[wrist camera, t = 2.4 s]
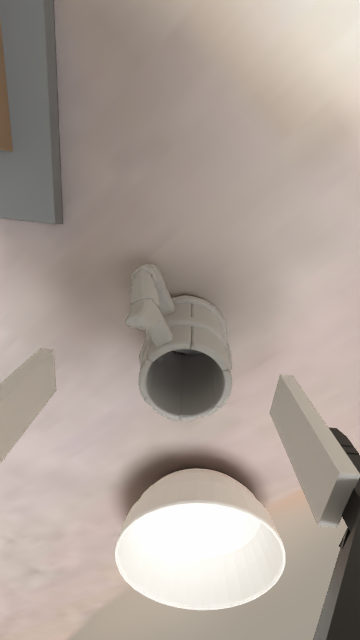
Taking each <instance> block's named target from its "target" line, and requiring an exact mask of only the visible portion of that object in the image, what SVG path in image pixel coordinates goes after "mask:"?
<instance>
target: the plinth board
mask: <svg viewBox="0 0 360 640" xmlns="http://www.w3.org/2000/svg"><path fill="white" fill-rule="evenodd" d="M0 218H5V219H14V220H22V221H31V222H40V223H49V224H63V216H62V192H61V167H60V143H59V119H58V95H57V71H56V46H55V22H54V0H0Z"/></svg>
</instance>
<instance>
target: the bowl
mask: <svg viewBox="0 0 360 640" xmlns="http://www.w3.org/2000/svg"><path fill="white" fill-rule="evenodd" d="M115 559H116V564H117V567H118V569H119V572H120V573H121V575H122V576H123V578H124V579H125V581H126V582H127V583H128V584H129V585H131V586H132V587H133V588H134V589H135V590H136V591H138V592H140V593H141V594H143V595H144V596H146V597H148V598H150V599H152V600H154V601H157V602H159V603H162V604H166V605H169V606H172V607H178V608H183V609H193V610H217V609H223V608H229V607H233V606H237V605H240V604H244V603H246V602H249V601H251V600H253V599H255V598H257V597H259V596H260V595H262V594H264V593H265V592H267V591H268V590H269V589H270V588H271V587H272V586H273V585H274V584H275V583H276V582H277V581H278V579H279V577H280V576H281V574H282V572H283V569H284V566H285V549H284V546H283V543H282V540H281V538H280V536H279V534H278V531H277V529H276V527H275V525H274V523H273V521H272V519H271V517H270V515H269V513H268V512H267V510H266V509H265V507H264V506H263V505H262V504H261V503H260V502H259V501H258V500H257V499H256V498H255V496H254V495H253V493H252V492H250V491H249V490H248V489H247V488H246V487H245V486H244V485H242V484H241V483H239V482H238V481H236V480H235V479H233V478H231V477H230V476H228V475H226V474H223V473H221V472H218V471H214V470H209V469H197V468H195V469H185V470H180V471H176V472H173V473H171V474H169V475H166V476H165V477H163V478H161V479H160V480H158V481H157V482H156V483H154V484H153V485H151V486H150V487H149V488H148V489H147V490H146V491H145V492H144V493H143V494H142V496H141V497H140V499H139V500H138V501H137V502H136V503H135V504H134V505H133V506H132V508H131V510H130V512H129V513H128V515H127V517H126V520H125V522H124V525H123V527H122V530H121V532H120V534H119V537H118V540H117V544H116V548H115Z"/></svg>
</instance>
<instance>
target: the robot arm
mask: <svg viewBox="0 0 360 640" xmlns="http://www.w3.org/2000/svg"><path fill="white" fill-rule="evenodd" d="M55 391H56V379H55V361H54V350H50V349H41V348H40V349H39V350H38V351H37V352H36V353H35V354H34V355H33V356H31V357H30V358H29V359H28V360H27V361H26V362H25V363H23V364H22V365H21V366H20V367H19V368H18V369H17V370H16V371H14V372H13V373H12V374H11V375H10V376H9V377H8V378H6V379H5V380H4V381H3V382H2V383H1V384H0V463H1V462H2V461H3V459H4V458H5V457H6V455H7V454H8V453H9V452H10V450H11V449H12V448H13V446H14V445H15V444H16V442H17V441H18V440H19V438H20V437H21V436H22V435H23V433H24V432H25V431H26V429H27V428H28V427H29V425H30V424H31V423H32V421H33V420H34V419H35V418H36V416H37V415H38V414H39V412H40V411H41V410H42V408H43V407H44V406H45V404H46V403H47V402H48V401H49V399H50V398H51V397H52V395H53V394H54V393H55ZM270 415H271V417H272V420H273V422H274V424H275V427H276V429H277V431H278V434H279V436H280V438H281V441H282V443H283V445H284V448H285V450H286V452H287V455H288V457H289V459H290V462H291V464H292V466H293V469H294V471H295V473H296V476H297V478H298V480H299V483H300V485H301V487H302V490H303V492H304V494H305V497H306V499H307V501H308V504H309V506H310V508H311V511H312V513H313V516H314V518H315V520H316V522H317V525H318V526H328V527H338V525H339V522H340V520H341V518H342V517H343V519H344V521H345V523H346V525H347V526H348V528H347V530H346V532H345V535H344V536H343V539H342V541H341V543H340V545H339V547H341V548H340V552H339V555H338V558H337V562H336V565H335V568H334V572H333V575H332V578H331V582H330V585H329V588H328V592H327V595H326V598H325V602H324V605H323V609H322V612H321V615H320V619H319V622H318V625H317V628H316V632H315V635H314V638H313V640H360V455H359V453H358V452H357V450H356V449H355V448H354V447H353V445H352V443H351V442H350V441H349V439H348V438H347V437H346V436H345V435H344V434H343V433H342V432H340V431H339V430H338V429H337V428H328V426H327V425H326V423H325V422H324V420H323V419H322V417H321V416H320V414H319V413H318V411H317V410H316V409H315V407H314V406H313V404H312V403H311V401H310V400H309V398H308V397H307V395H306V394H305V392H304V391H303V389H302V388H301V386H300V385H299V384H298V382H297V381H296V379H295V378H294V376H292V375H283V374H280V376H279V380H278V384H277V388H276V391H275V395H274V399H273V402H272V406H271V410H270Z"/></svg>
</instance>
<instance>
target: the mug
mask: <svg viewBox="0 0 360 640" xmlns="http://www.w3.org/2000/svg"><path fill="white" fill-rule="evenodd" d="M131 280H132V285H131V303H130V305H131V311H130V315H129V316H128V317H127V319H126V324H127V326H128V327H130V328H138V329H139V330H145V329H146V330H145V333H146V340H145V342H144V344H143V347H142V350H141V351H140V356H139V359H140V365H141V367H140V373H139V388H140V392H141V395H142V397H143V398H144V400H145V402H147V403H148V404H149V405H150V406H151V407H152V408H153V409H154V410H155V411H156V412H157V413H159V414H160V415H162V416H164V417H166V418H168V419H171V420H174V421H179V418H180V421H193V420H194V419H196V418H198V417H205V416H208V415H212V414H213V413H215V412H216V411H217V410H219V408H220V407H222V406H223V405H224V404H225V403H226V401H227V399H228V397H229V395H230V392H231V387H232V376H231V369H232V359H231V352H230V349H229V346H228V343H227V329H226V325H225V322H224V319H223V317H222V315H221V313H220V312H219V311H218V310H217V309H216V307H215V306H214V305H212V304H211V303H209V302H208V301H206V300H204V299H201V298H198V297H194V296H190V295H184V296H178V297H174V298H171V297H170V294H169V292H168V289H167V287H166V284H165V281H164V278H163V277H162V274H161V272H160V270H159V268H158V267H157V266H156V265H152V264H144V265H142V266H140V267H139V268H137V269H136V270H135V271H134V272H133V274H132V276H131ZM172 351H176V352H181V353H185V354H190V355H181V354H176V353H174V352H172Z"/></svg>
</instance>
